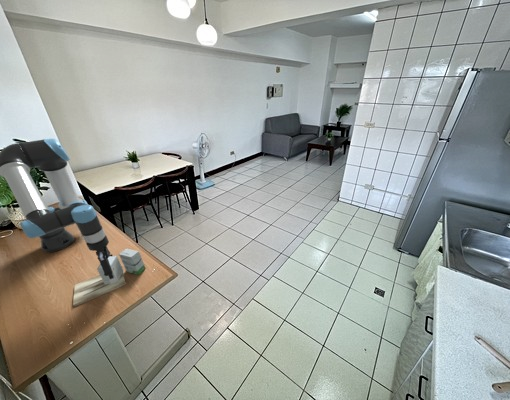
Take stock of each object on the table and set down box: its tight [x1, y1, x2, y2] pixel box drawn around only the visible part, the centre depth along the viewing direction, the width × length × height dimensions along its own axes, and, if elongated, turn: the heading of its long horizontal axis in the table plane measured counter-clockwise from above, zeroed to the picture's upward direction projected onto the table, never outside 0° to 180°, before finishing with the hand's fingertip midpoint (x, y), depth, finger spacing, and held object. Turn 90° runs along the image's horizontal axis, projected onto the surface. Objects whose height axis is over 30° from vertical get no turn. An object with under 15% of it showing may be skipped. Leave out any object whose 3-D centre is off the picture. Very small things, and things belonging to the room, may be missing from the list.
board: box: [72, 266, 126, 308], centre depth 102 cm, size 13×20×1 cm, turn 124°
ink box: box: [118, 248, 146, 276], centre depth 107 cm, size 9×5×12 cm, turn 71°
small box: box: [96, 255, 124, 285], centre depth 102 cm, size 8×6×10 cm
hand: (113, 275), depth 104 cm, fingers closed on small box, 9 cm apart
